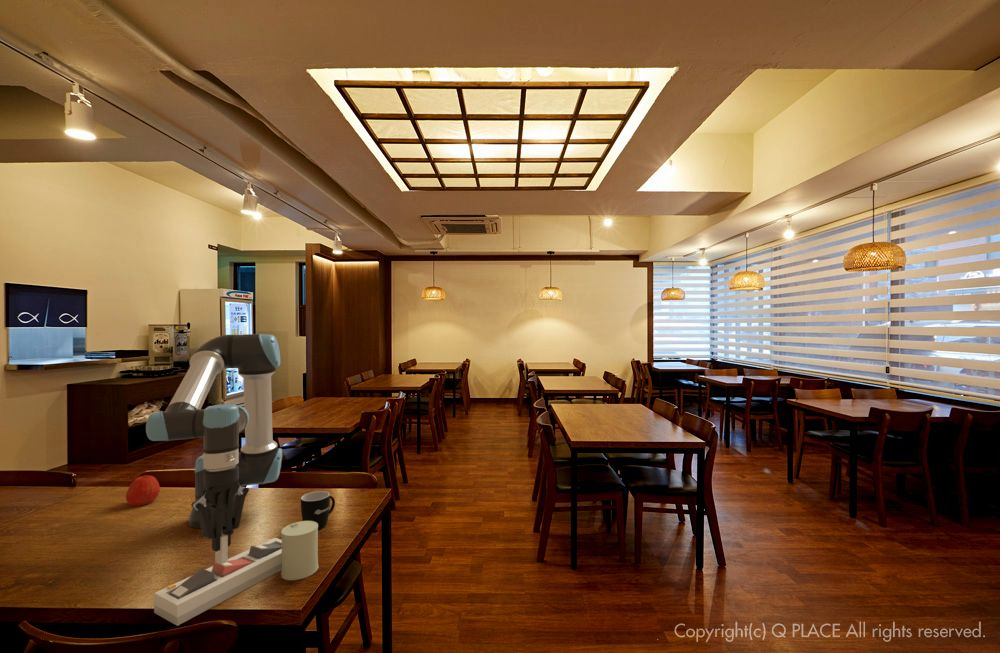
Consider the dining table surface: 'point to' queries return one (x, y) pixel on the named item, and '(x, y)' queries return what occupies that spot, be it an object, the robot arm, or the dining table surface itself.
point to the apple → (142, 490)
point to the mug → (317, 507)
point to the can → (299, 550)
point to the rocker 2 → (264, 549)
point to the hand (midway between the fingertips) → (221, 561)
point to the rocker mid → (230, 566)
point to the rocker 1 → (193, 583)
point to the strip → (217, 587)
